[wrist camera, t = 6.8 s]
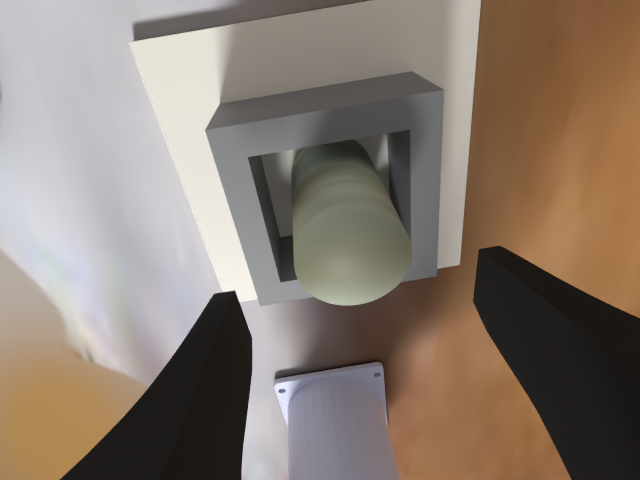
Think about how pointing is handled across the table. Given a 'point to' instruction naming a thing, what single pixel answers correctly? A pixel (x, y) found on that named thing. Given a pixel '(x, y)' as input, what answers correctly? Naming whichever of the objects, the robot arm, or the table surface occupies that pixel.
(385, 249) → the peg
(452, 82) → the socket
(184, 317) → the table surface
